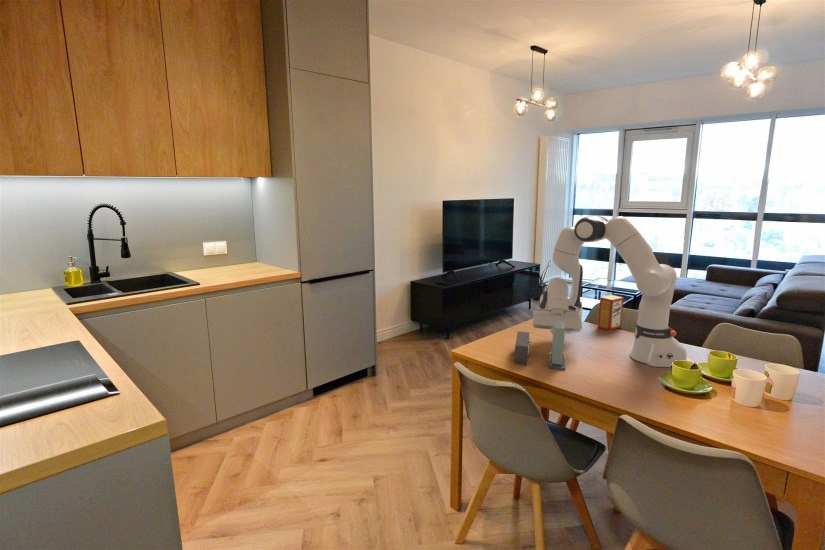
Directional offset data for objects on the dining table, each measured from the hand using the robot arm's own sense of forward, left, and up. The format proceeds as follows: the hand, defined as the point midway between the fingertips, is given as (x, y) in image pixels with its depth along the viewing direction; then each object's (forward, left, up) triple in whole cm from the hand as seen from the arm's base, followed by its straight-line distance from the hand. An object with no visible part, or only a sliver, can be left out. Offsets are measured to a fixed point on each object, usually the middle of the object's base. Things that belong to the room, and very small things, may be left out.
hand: (556, 338), depth 188 cm
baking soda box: (-27, -44, -7) cm, 53 cm away
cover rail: (0, +11, -7) cm, 13 cm away
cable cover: (0, +11, -6) cm, 12 cm away
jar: (-9, -44, -7) cm, 46 cm away
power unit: (+14, +8, -7) cm, 17 cm away
